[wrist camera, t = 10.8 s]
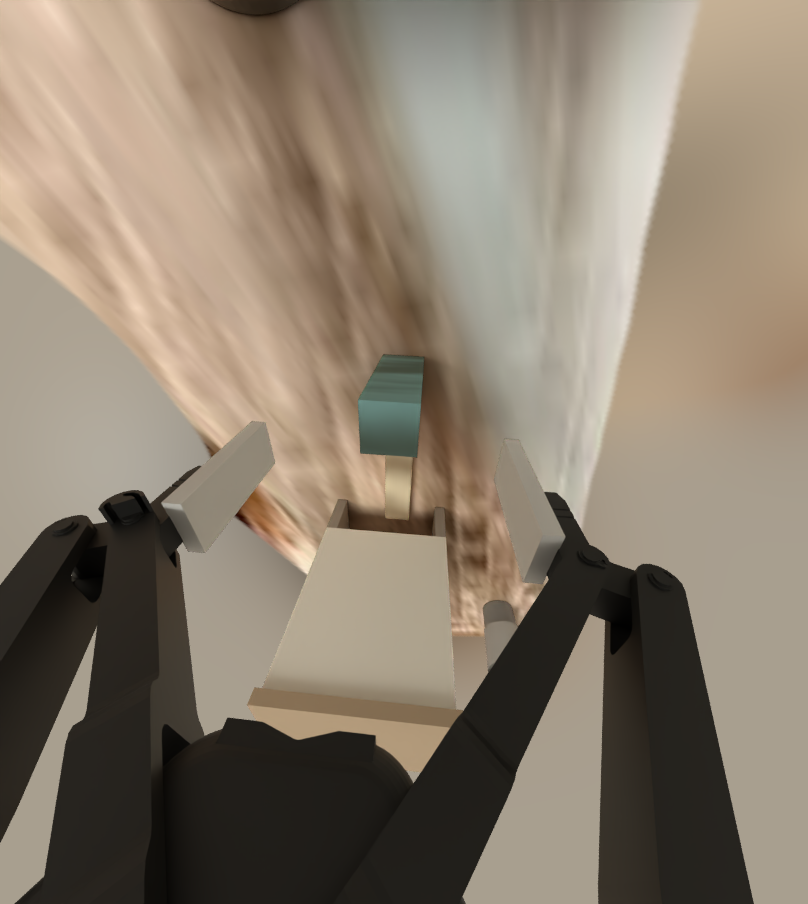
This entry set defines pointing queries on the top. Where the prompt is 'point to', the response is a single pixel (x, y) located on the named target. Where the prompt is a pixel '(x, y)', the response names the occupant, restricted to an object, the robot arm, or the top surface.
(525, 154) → the top surface
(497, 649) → the cup
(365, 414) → the teal mallet
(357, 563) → the cupboard
